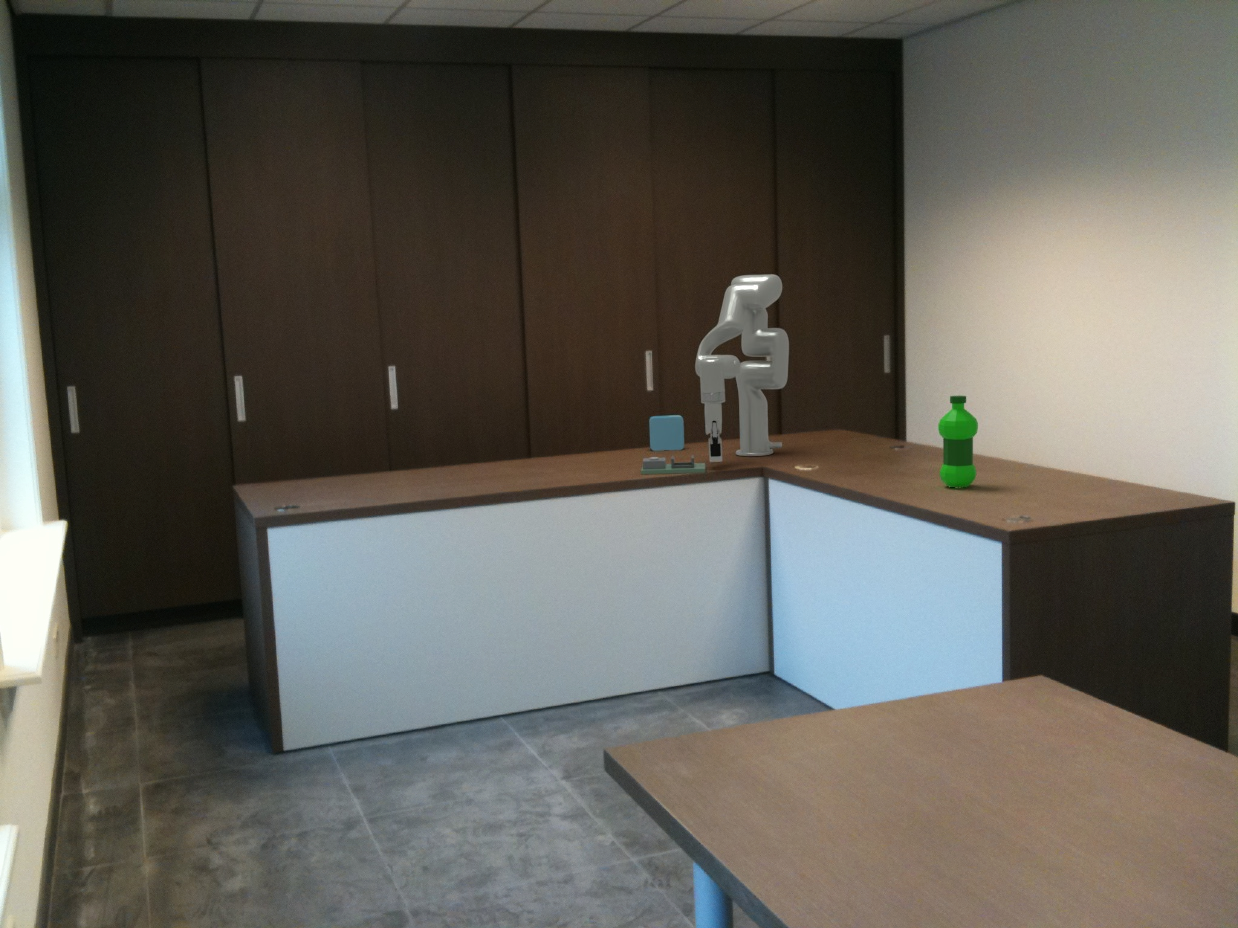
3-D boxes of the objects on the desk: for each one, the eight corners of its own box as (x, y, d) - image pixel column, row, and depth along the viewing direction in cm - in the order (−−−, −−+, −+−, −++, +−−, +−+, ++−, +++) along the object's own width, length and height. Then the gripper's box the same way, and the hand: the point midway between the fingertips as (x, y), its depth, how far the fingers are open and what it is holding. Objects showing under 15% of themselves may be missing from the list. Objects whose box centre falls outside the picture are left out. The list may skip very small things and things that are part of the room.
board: (705, 466, 390) (704, 453, 389) (705, 472, 378) (705, 458, 378) (642, 468, 391) (642, 455, 391) (641, 474, 380) (640, 460, 379)
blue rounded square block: (683, 448, 436) (682, 414, 434) (684, 450, 431) (683, 416, 429) (650, 449, 436) (649, 416, 434) (650, 451, 431) (649, 417, 429)
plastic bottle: (965, 482, 341) (965, 393, 338) (984, 488, 331) (984, 396, 328) (932, 485, 339) (932, 395, 336) (950, 491, 329) (950, 399, 325)
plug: (722, 459, 387) (721, 436, 386) (722, 461, 383) (721, 438, 382) (709, 459, 388) (708, 437, 386) (709, 462, 384) (708, 439, 382)
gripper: (700, 394, 390) (703, 451, 394) (701, 401, 374) (704, 460, 377) (724, 393, 390) (726, 449, 393) (725, 400, 373) (728, 459, 377)
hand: (715, 454), depth 385 cm, fingers closed on plug, 4 cm apart
